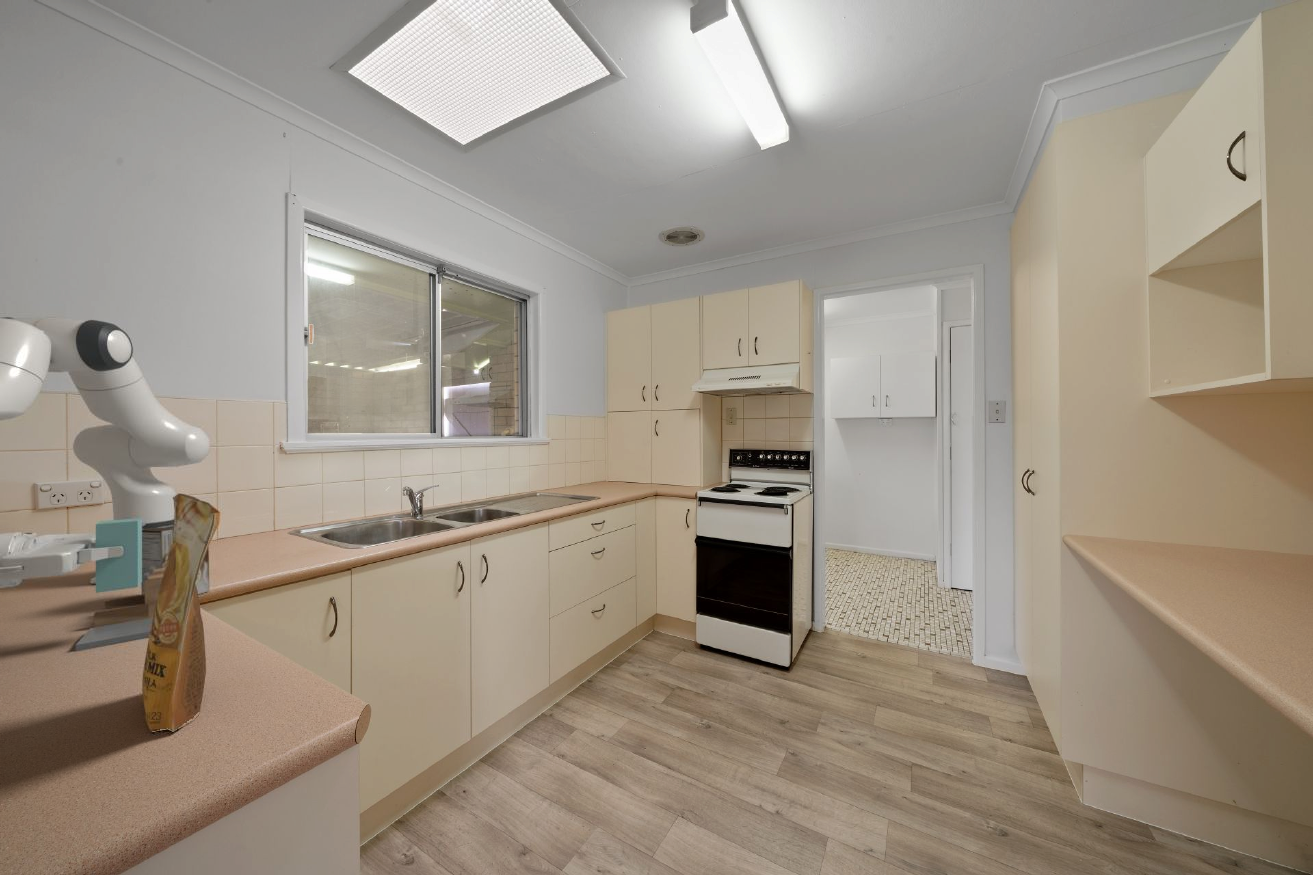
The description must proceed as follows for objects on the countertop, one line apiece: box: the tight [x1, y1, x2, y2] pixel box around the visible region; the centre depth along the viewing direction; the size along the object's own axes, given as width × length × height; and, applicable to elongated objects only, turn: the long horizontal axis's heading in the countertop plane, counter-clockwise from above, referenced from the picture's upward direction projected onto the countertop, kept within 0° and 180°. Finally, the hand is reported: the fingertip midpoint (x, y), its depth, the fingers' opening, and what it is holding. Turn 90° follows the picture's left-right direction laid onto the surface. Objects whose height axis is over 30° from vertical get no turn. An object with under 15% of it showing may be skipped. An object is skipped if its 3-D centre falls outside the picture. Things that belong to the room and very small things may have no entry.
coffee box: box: [140, 525, 211, 595], centre depth 107 cm, size 9×6×16 cm
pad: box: [75, 618, 153, 652], centre depth 87 cm, size 9×9×1 cm
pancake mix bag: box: [141, 493, 221, 733], centre depth 64 cm, size 7×19×28 cm, turn 48°
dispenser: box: [93, 565, 165, 628], centre depth 97 cm, size 9×12×9 cm
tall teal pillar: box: [95, 518, 142, 594], centre depth 86 cm, size 4×5×12 cm
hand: (127, 547), depth 87 cm, fingers closed on tall teal pillar, 4 cm apart
